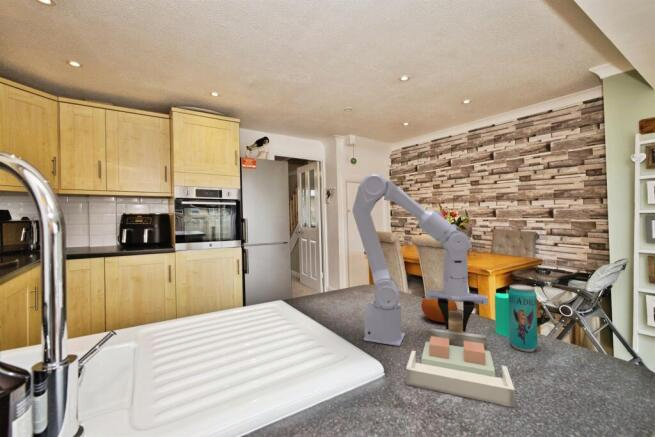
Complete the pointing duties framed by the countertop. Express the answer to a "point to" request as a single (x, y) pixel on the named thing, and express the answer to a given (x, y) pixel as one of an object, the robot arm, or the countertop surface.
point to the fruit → (436, 309)
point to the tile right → (474, 352)
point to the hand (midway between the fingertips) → (455, 329)
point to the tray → (461, 382)
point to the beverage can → (523, 317)
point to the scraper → (456, 332)
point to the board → (459, 361)
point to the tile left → (439, 347)
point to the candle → (502, 314)
